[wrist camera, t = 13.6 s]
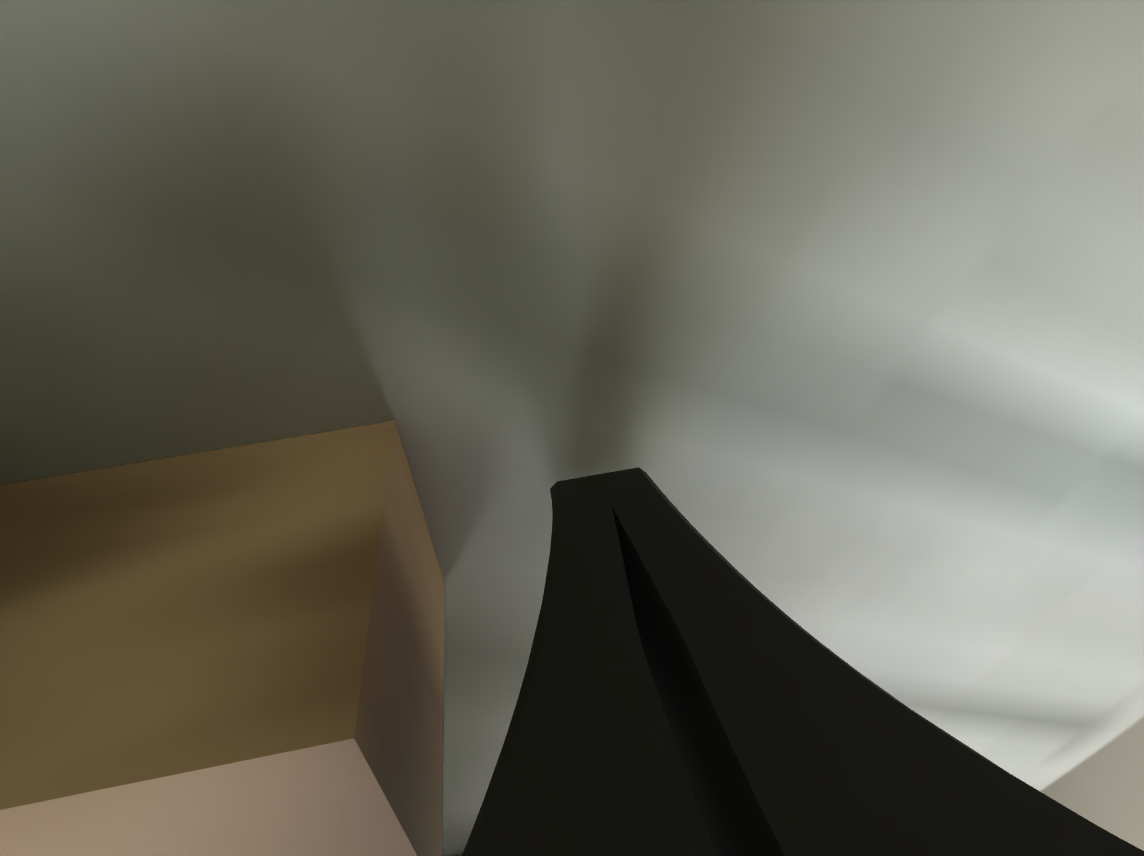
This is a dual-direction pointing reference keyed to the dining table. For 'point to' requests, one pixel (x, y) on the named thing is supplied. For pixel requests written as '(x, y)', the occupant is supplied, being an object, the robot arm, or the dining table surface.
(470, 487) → the dining table surface
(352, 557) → the tall tan wooden block
